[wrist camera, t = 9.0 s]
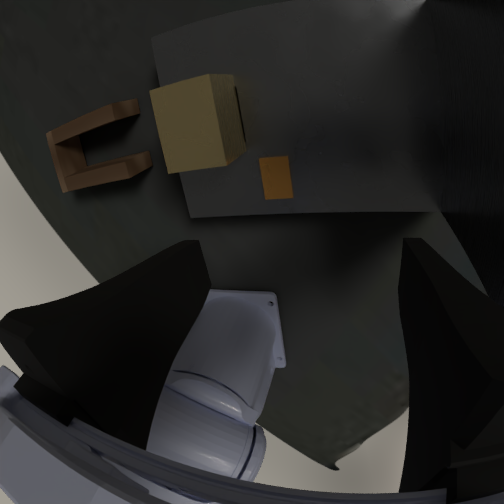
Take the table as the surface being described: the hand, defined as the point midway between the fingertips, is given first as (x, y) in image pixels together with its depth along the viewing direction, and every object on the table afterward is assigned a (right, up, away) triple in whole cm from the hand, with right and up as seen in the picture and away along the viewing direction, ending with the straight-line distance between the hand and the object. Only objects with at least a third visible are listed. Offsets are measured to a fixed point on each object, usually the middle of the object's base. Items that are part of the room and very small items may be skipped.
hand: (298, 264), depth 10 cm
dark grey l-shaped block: (+2, +9, +6) cm, 11 cm away
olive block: (-3, +9, +8) cm, 12 cm away
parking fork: (-12, +9, +11) cm, 19 cm away
